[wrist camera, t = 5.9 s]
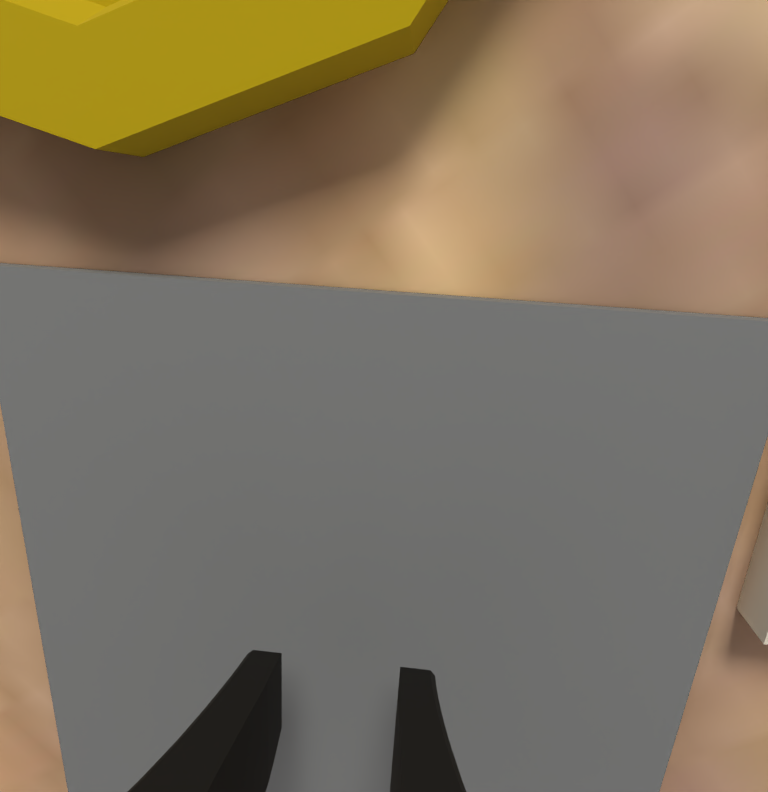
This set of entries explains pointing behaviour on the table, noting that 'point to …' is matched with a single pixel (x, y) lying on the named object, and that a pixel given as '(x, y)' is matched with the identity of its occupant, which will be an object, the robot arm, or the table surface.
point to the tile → (757, 586)
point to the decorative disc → (186, 61)
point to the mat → (374, 517)
